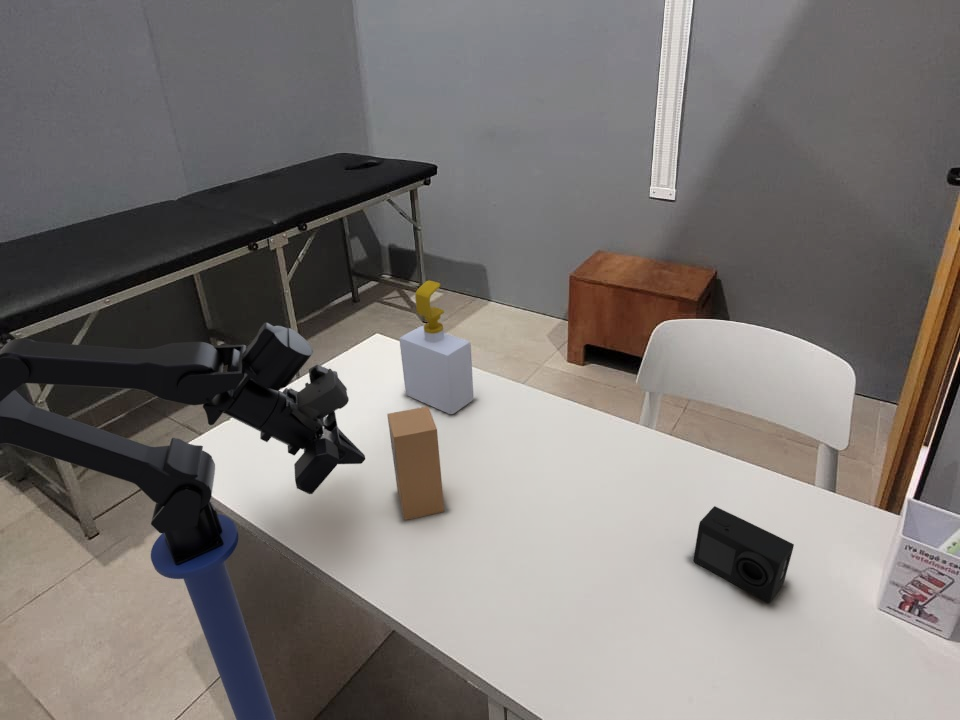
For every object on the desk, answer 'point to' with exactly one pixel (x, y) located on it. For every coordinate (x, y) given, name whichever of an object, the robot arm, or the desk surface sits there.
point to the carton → (416, 462)
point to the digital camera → (742, 553)
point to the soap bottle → (436, 360)
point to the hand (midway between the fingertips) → (363, 459)
